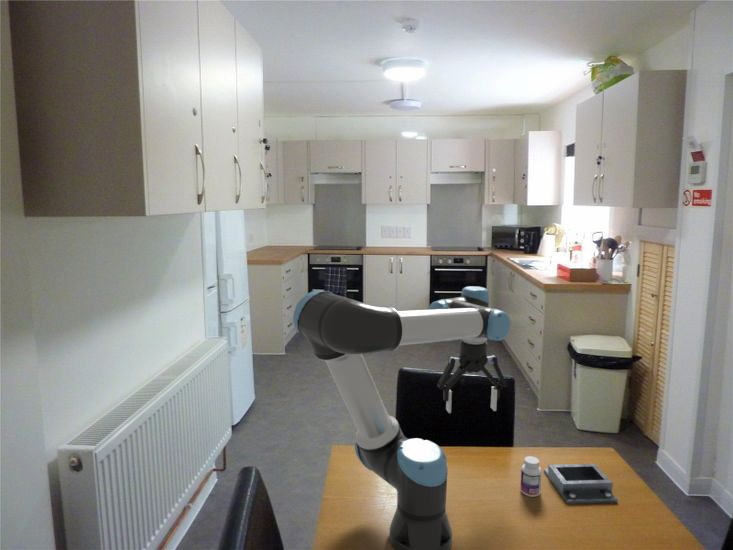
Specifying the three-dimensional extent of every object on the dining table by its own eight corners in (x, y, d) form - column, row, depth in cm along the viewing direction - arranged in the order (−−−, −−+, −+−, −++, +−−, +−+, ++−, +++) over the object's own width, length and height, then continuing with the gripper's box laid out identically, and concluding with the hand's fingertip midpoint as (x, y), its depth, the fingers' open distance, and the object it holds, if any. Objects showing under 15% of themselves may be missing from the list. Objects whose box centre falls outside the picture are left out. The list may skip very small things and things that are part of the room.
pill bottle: (524, 484, 145) (526, 452, 143) (543, 491, 142) (545, 459, 140) (517, 492, 141) (518, 460, 139) (535, 499, 138) (537, 467, 136)
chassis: (617, 502, 136) (618, 489, 136) (567, 503, 136) (568, 490, 135) (588, 470, 152) (589, 458, 152) (543, 471, 152) (544, 459, 151)
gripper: (510, 335, 149) (507, 403, 152) (428, 338, 146) (426, 406, 150) (520, 343, 141) (517, 413, 145) (434, 345, 139) (432, 417, 142)
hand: (471, 410), depth 147 cm, fingers open, 13 cm apart
